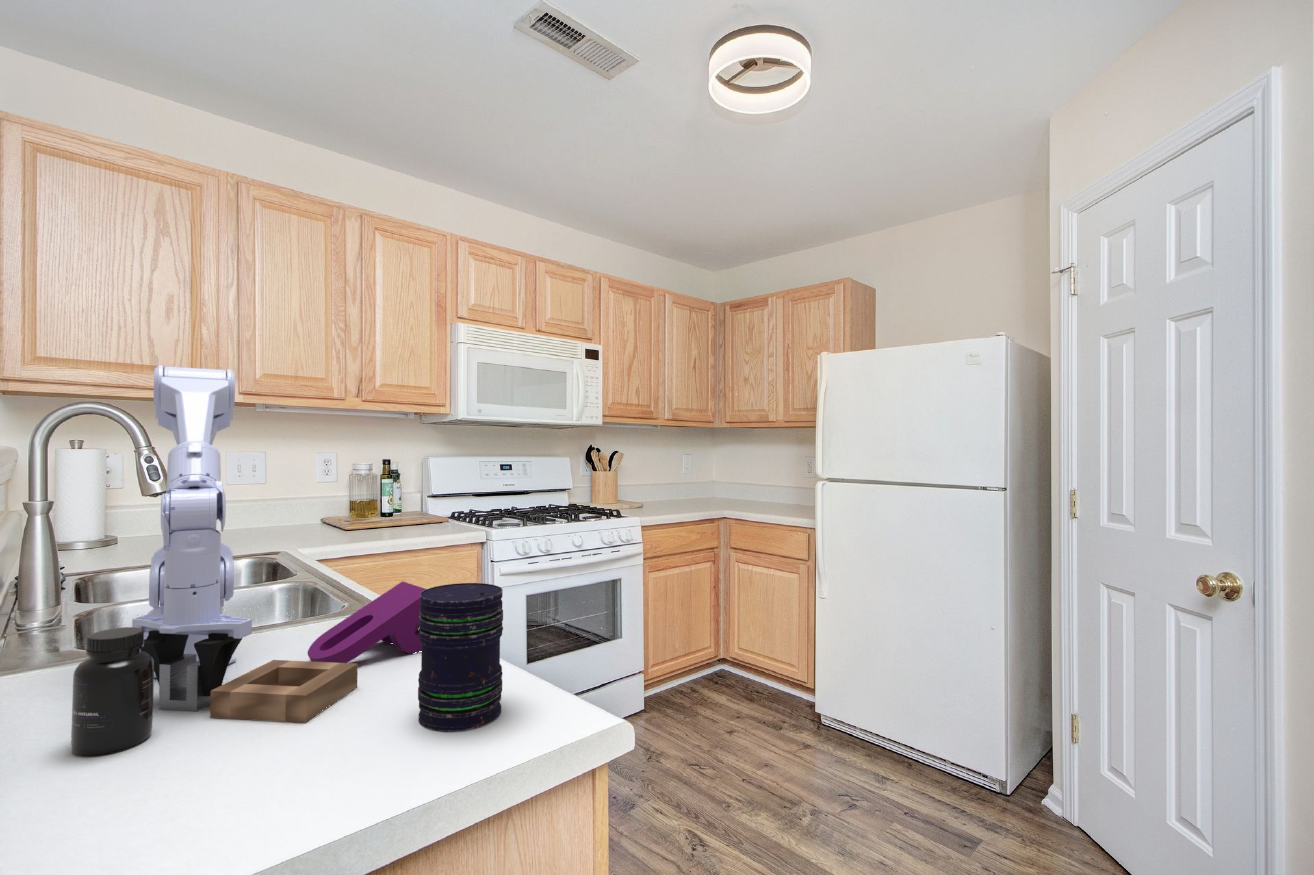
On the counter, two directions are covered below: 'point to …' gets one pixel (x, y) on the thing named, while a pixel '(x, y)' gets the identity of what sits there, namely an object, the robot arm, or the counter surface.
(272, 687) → the well block
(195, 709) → the bracket
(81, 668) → the supplement bottle
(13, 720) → the counter surface
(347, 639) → the mounting bracket
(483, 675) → the dark blue ribbed cylinder
